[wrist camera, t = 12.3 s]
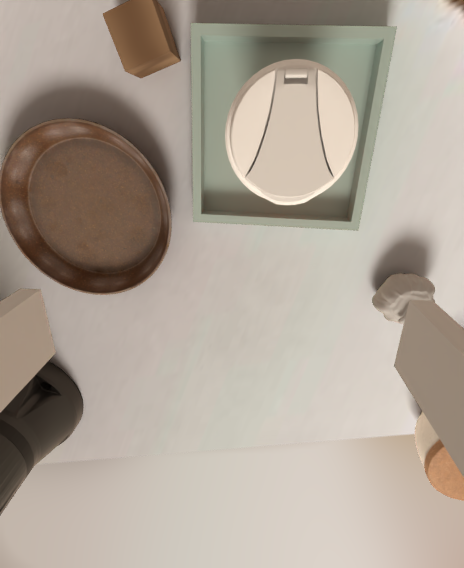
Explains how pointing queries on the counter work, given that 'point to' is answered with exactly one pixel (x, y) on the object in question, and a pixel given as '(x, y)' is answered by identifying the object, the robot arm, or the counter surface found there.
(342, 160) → the paper cup
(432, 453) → the lidded jar
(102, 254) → the plant saucer
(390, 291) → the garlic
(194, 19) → the counter surface
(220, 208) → the tray
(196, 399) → the counter surface
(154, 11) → the walnut block
